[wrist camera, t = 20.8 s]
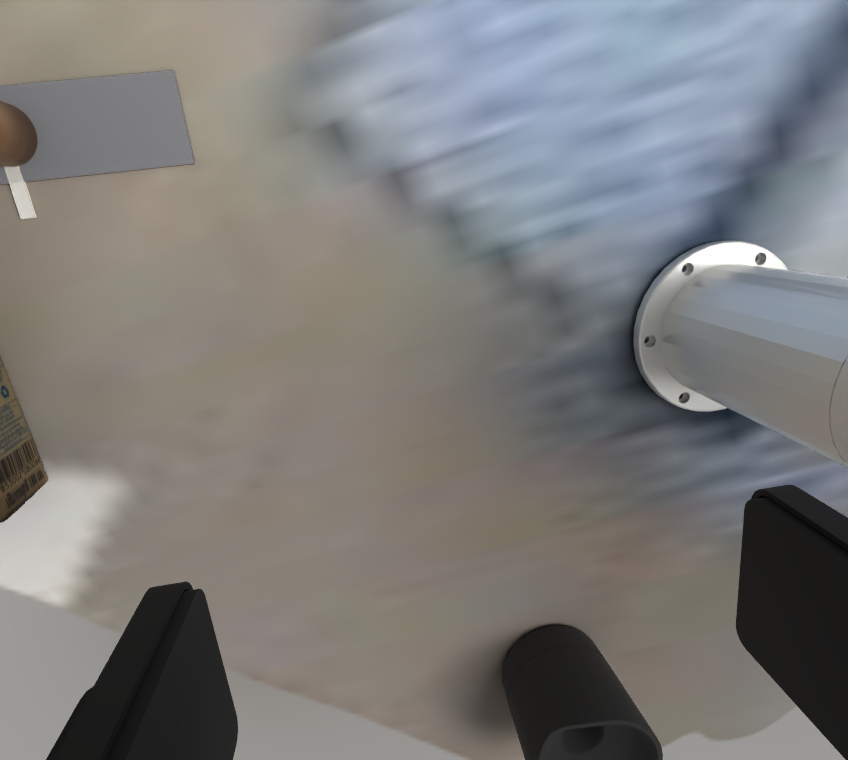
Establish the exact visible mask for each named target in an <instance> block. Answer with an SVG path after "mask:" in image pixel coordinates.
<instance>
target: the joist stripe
mask: <svg viewBox="0 0 848 760" xmlns="http://www.w3.org/2000/svg"><path fill="white" fill-rule="evenodd" d="M0 101H2V102H5V103H8V104H11V105H13V106H15V107H17V108H18V109H20V110H21V111H22V112H24V113H25V114H26V115H27V116H28V118H29V119H30V120H31V122H32V123H33V125H34V127H35V130H36V134H37V149H36V152H35V154H34V155H33V157H32V158H31V159H30V160H29V161H28V162H27V163H25V164H23V165H20V166H16V167H5V166H0V185H3V184H10V187H11V190H12V194H13V197H14V200H15V203H16V206H17V209H18V212H19V215H20V219H29V218H37V216H36V213H35V210H34V207H33V204H32V200H31V197H30V194H29V191H28V188H27V184H26V182H31V181H40V180H49V179H58V178H68V177H77V176H86V175H95V174H105V173H114V172H123V171H132V170H142V169H151V168H160V167H169V166H179V165H188V164H195V162H194V157H193V153H192V148H191V144H190V139H189V135H188V130H187V126H186V121H185V117H184V112H183V108H182V103H181V99H180V94H179V90H178V86H177V81H176V77H175V72H174V70H168V71H157V72H146V73H135V74H124V75H113V76H102V77H91V78H80V79H69V80H58V81H47V82H36V83H25V84H14V85H3V86H0Z"/></svg>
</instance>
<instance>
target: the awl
mask: <svg viewBox="0 0 848 760" xmlns="http://www.w3.org/2000/svg"><path fill="white" fill-rule="evenodd" d="M36 149H37V134H36V130H35V127H34V125H33V123H32V122H31V120H30V119H29V118H28V116H27V115H26V114H25V113H24V112H22V111H21V110H20V109H18V108H17V107H15V106H13V105H11V104H8V103H5V102H2V101H0V166H5V167H16V166H20V165H23V164H25V163H27V162H28V161H29V160H30V159H31V158H32V157H33V155H34V154H35V152H36Z"/></svg>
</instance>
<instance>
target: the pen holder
mask: <svg viewBox="0 0 848 760" xmlns="http://www.w3.org/2000/svg"><path fill="white" fill-rule="evenodd" d="M502 681H503V685H504V689H505V693H506V696H507V700H508V703H509V707H510V711H511V714H512V717H513V721H514V724H515V727H516V731H517V734H518V737H519V740H520V744H521V747H522V750H523V753H524V757H525V760H662V759H663V758H662V757H663V754H662V748H661V745H660V742H659V741H658V739H657V737H656V736H655V734H654V733H653V731H652V729H651V728H650V726H649V725H648V723H647V722H646V720H645V719H644V717H643V716H642V714H641V713H640V711H639V710H638V708H637V707H636V705H635V704H634V702H633V701H632V699H631V698H630V696H629V695H628V693H627V692H626V690H625V689H624V687H623V685H622V684H621V682H620V681H619V679H618V678H617V676H616V675H615V673H614V672H613V670H612V669H611V667H610V666H609V664H608V663H607V661H606V660H605V659H604V657H603V656H602V654H601V653H600V651H599V650H598V648H597V647H596V645H595V644H594V643H593V641H592V640H591V639H590V638H589V637H588V636H587V635H586V634H585V633H583V632H581V631H580V630H578V629H575V628H572V627H567V626H560V625H555V626H547V627H543V628H540V629H537V630H535V631H532V632H530V633H529V634H527V635H525V636H524V637H523V638H521V639H520V640H519V641H518V642H517V643H516V644H515V645H514V646H513V647H512V649H511V650H510V652H509V654H508V656H507V657H506V659H505V662H504V665H503V670H502Z"/></svg>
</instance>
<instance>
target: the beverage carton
mask: <svg viewBox="0 0 848 760" xmlns="http://www.w3.org/2000/svg"><path fill="white" fill-rule="evenodd" d="M47 481H48V477H47V475H46V473H45V470H44V467H43V464H42V461H41V459H40V456H39V453H38V451H37V448H36V446H35V443H34V440H33V438H32V435H31V433H30V430H29V428H28V425H27V422H26V420H25V417H24V415H23V412H22V410H21V407H20V405H19V402H18V400H17V397H16V395H15V393H14V390H13V388H12V385H11V383H10V380H9V378H8V375H7V373H6V370H5V368H4V365H3V363H2V360H1V358H0V522H4V521H5V520H7V519H8V518H9V517H10V516H11V515H12V514H13V513H15V512H16V511H17V510H18V509H19V508H20V507H21V506H22V505H24V504H25V502H26V501H27V500H28V499H30V498H31V497H32V496H33V495H34V494H35V493H36V492H37V491H38V490H39V489H40V488H41V487H42V486H43V485H44V484H45V483H46V482H47Z"/></svg>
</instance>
